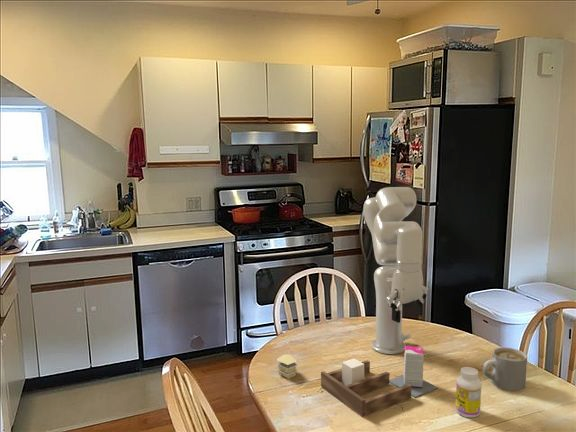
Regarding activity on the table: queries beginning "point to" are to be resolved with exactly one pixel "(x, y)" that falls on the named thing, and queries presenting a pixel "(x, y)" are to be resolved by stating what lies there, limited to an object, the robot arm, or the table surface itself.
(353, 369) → the off-white block
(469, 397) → the supplement bottle
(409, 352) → the supplement box
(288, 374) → the beige ridged block
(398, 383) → the mat
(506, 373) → the coffee mug
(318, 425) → the table surface
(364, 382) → the lane rack
